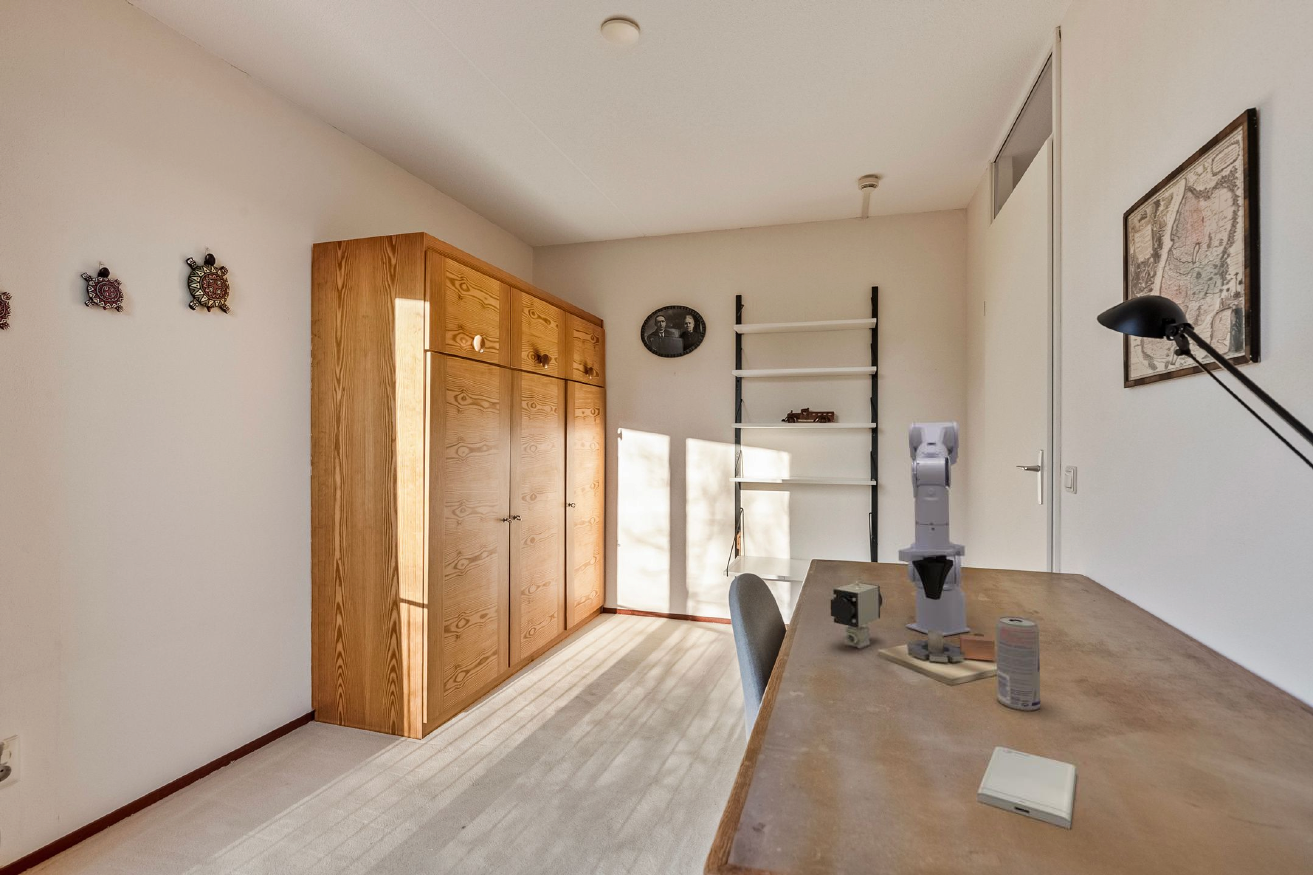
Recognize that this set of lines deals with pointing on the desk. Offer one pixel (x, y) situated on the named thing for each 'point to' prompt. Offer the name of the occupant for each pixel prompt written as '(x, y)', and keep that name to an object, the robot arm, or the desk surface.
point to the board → (941, 670)
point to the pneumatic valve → (856, 610)
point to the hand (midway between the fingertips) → (932, 598)
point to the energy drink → (1018, 663)
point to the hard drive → (1029, 786)
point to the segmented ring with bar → (956, 649)
